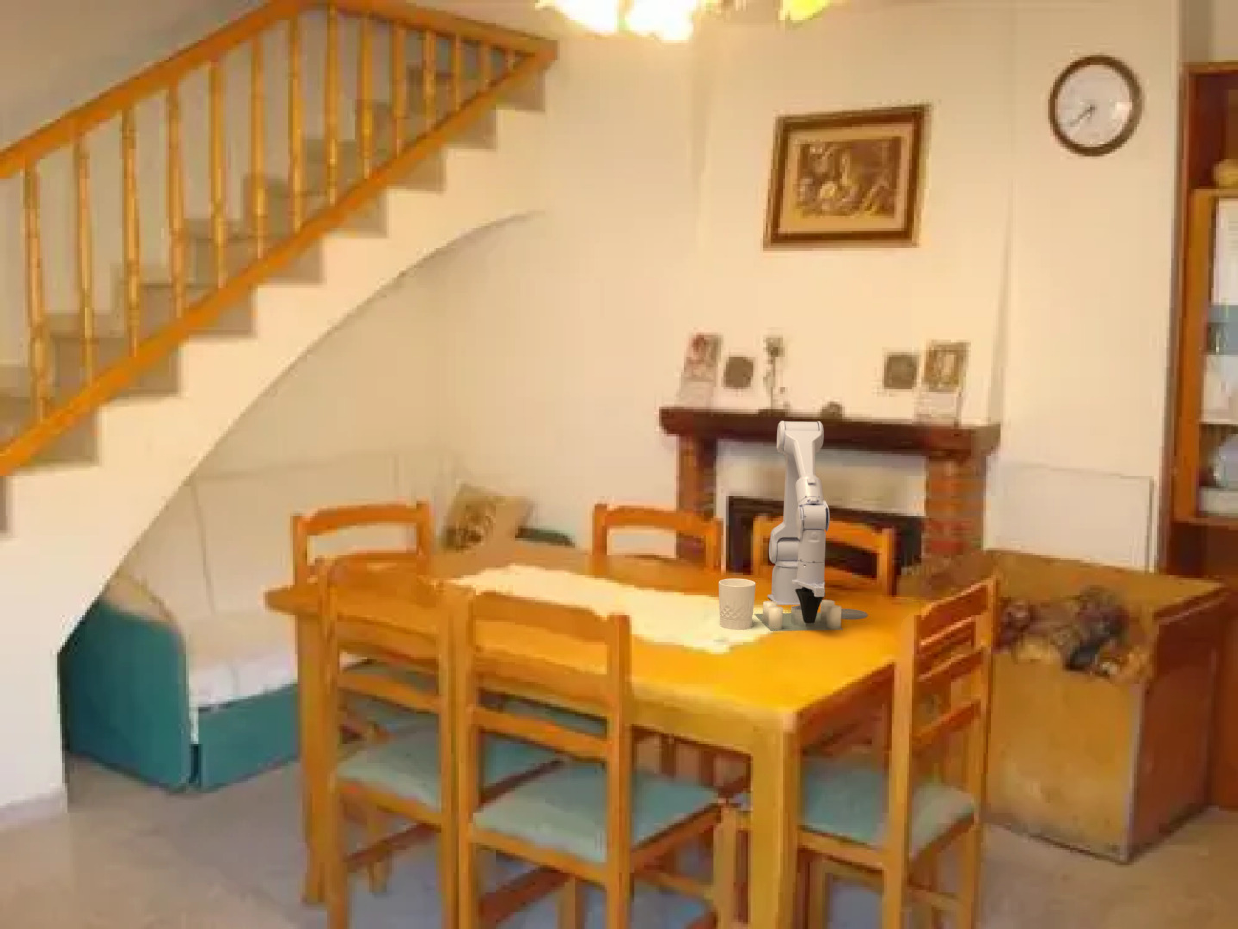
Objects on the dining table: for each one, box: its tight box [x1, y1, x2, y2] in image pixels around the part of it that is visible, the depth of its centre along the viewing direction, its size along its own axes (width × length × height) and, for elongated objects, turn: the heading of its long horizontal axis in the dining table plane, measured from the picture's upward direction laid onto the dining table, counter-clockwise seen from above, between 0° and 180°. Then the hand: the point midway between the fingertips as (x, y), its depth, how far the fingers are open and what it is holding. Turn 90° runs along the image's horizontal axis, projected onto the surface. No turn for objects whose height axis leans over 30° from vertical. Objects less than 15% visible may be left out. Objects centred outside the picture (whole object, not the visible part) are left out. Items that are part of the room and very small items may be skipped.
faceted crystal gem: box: [790, 605, 814, 627], centre depth 308 cm, size 5×4×4 cm
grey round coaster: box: [841, 608, 868, 620], centre depth 317 cm, size 9×9×1 cm
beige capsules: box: [762, 599, 842, 630], centre depth 307 cm, size 8×16×4 cm, turn 98°
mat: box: [753, 612, 844, 632], centre depth 310 cm, size 15×16×1 cm
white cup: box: [718, 578, 756, 631], centre depth 305 cm, size 8×8×10 cm
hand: (809, 622), depth 303 cm, fingers closed
